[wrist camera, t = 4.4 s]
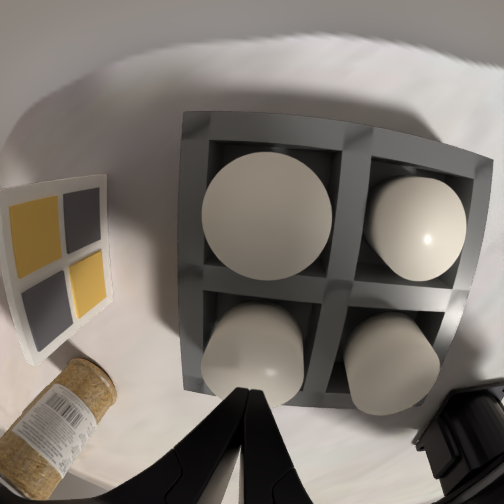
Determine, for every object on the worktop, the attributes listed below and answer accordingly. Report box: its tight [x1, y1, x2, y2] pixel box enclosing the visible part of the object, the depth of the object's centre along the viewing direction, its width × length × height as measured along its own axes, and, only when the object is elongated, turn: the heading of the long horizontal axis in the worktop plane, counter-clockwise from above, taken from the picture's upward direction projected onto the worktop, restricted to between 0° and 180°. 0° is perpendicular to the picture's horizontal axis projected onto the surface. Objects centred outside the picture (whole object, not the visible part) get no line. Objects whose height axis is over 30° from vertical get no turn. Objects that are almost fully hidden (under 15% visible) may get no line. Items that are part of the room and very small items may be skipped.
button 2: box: [363, 175, 466, 281], centre depth 10 cm, size 4×4×2 cm
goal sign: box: [0, 174, 114, 368], centre depth 11 cm, size 1×7×7 cm, turn 176°
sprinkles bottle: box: [0, 358, 117, 500], centre depth 11 cm, size 5×5×13 cm
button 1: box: [343, 312, 440, 415], centre depth 10 cm, size 4×4×2 cm
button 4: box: [202, 152, 332, 280], centre depth 9 cm, size 4×4×2 cm
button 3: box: [201, 300, 304, 408], centre depth 11 cm, size 4×4×2 cm
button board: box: [178, 111, 493, 409], centre depth 12 cm, size 12×12×3 cm
